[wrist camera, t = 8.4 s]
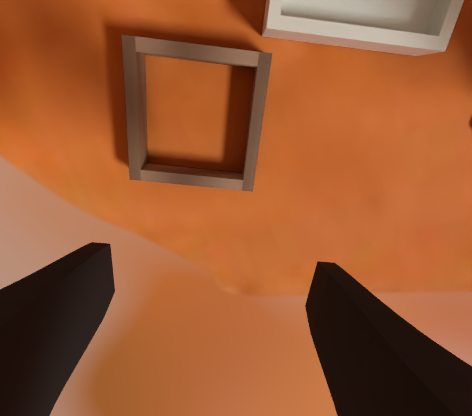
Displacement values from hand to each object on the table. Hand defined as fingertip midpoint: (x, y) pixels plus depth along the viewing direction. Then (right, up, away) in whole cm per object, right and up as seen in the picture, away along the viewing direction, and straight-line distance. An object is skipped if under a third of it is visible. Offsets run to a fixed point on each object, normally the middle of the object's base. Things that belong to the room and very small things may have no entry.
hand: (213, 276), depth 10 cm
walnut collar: (-2, +8, +8) cm, 11 cm away
